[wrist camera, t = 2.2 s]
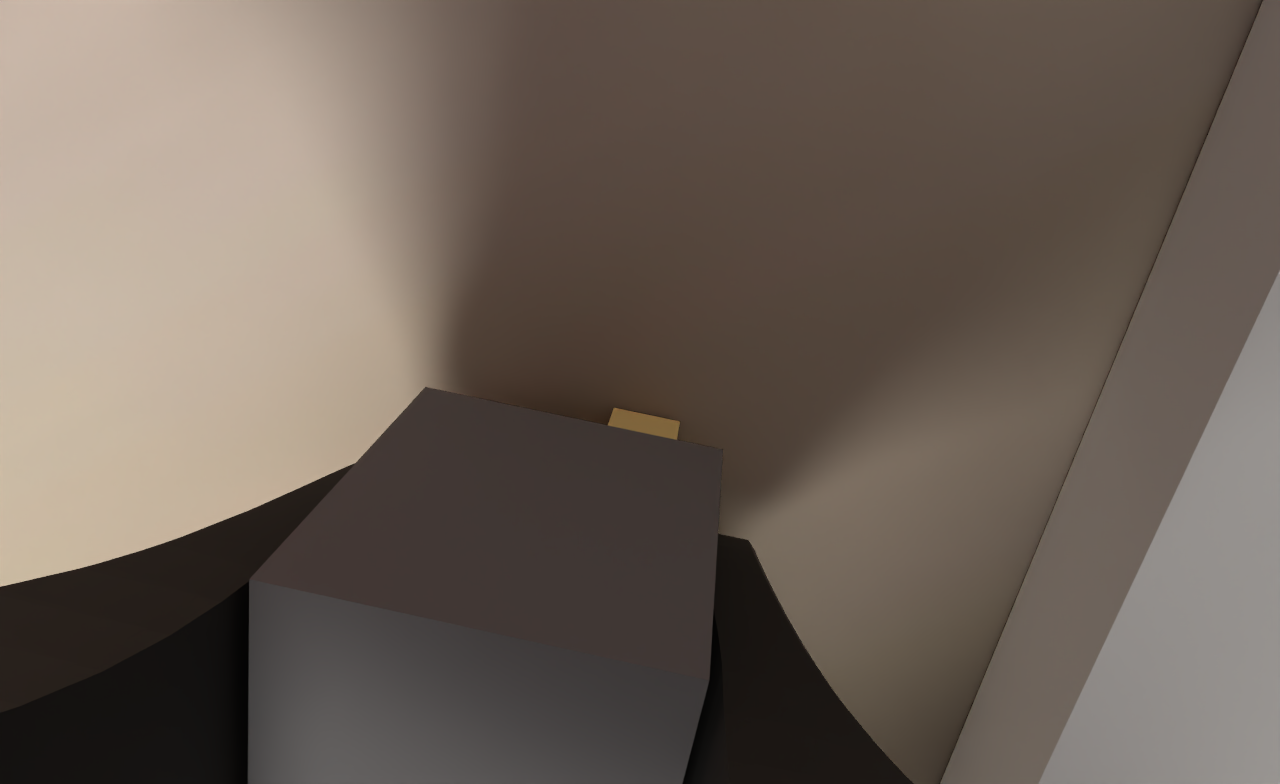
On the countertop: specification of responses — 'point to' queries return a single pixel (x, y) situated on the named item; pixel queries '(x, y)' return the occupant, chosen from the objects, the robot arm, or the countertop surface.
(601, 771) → the plug
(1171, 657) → the socket plate
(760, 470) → the countertop surface
